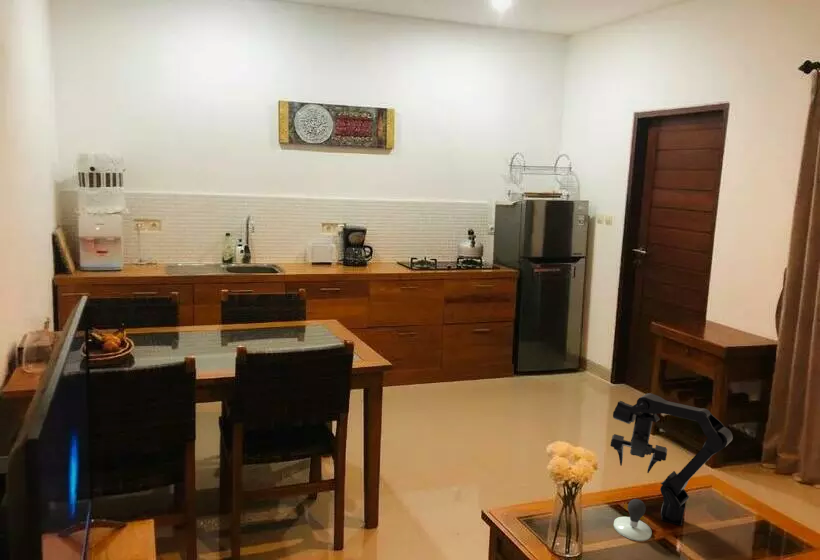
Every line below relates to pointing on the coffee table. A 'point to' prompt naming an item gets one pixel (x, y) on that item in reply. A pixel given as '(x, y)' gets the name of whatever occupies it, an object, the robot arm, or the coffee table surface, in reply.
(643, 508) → the light bulb
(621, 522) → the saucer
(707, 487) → the coffee table surface
